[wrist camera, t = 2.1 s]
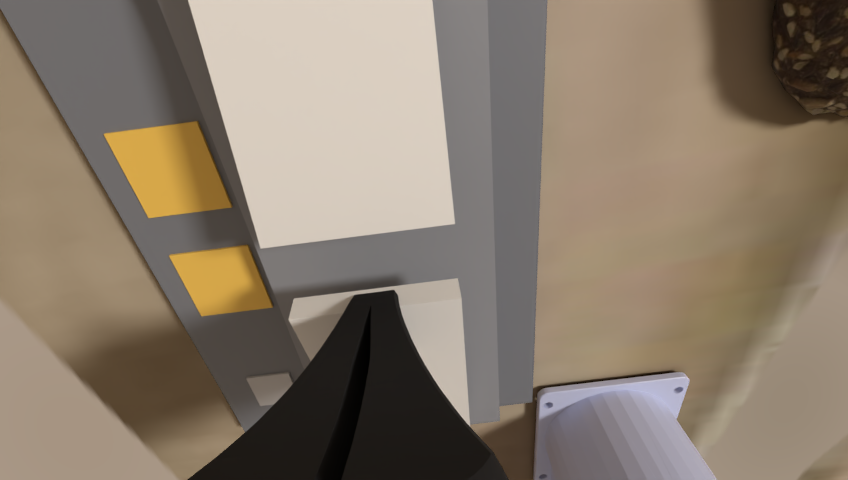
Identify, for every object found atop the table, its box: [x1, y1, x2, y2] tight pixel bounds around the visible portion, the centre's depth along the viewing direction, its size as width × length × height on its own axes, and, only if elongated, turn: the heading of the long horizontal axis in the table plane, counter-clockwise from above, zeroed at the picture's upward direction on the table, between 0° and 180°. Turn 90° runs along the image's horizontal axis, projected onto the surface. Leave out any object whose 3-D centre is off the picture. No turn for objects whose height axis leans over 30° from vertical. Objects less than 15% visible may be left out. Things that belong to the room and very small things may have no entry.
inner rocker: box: [288, 278, 470, 426], centre depth 14 cm, size 9×5×1 cm, turn 7°
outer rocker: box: [188, 0, 455, 249], centre depth 9 cm, size 9×5×1 cm, turn 6°
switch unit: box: [0, 0, 547, 432], centre depth 14 cm, size 24×15×2 cm, turn 7°
